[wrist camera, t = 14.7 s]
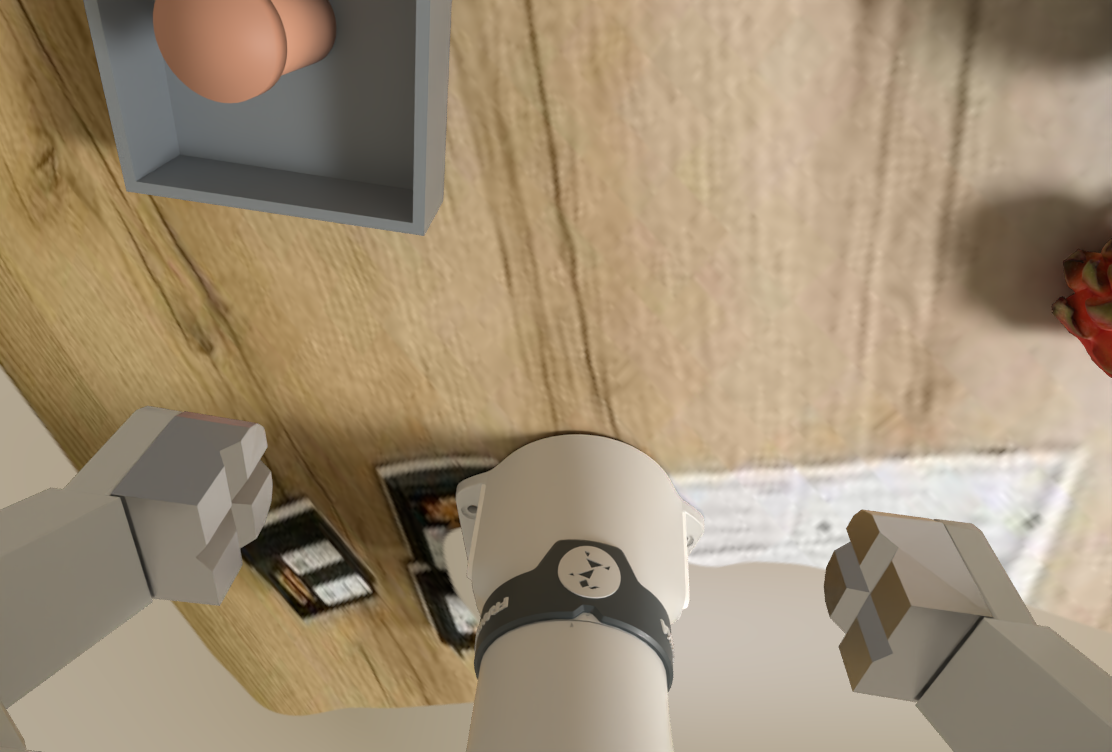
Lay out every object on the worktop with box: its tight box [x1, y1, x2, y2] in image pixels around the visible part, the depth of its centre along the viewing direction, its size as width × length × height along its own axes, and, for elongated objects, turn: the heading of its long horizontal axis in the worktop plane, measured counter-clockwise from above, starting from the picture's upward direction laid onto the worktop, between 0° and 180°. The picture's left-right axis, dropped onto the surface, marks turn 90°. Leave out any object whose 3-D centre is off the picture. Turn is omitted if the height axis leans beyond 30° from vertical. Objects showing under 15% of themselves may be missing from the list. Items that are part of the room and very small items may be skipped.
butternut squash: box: [153, 0, 336, 103], centre depth 31 cm, size 5×5×8 cm
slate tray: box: [83, 0, 452, 236], centre depth 33 cm, size 15×15×5 cm
